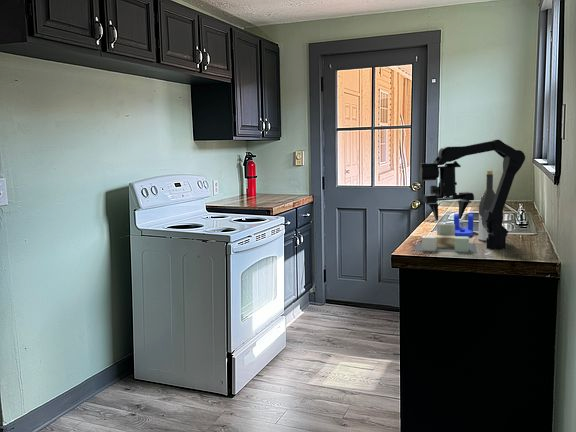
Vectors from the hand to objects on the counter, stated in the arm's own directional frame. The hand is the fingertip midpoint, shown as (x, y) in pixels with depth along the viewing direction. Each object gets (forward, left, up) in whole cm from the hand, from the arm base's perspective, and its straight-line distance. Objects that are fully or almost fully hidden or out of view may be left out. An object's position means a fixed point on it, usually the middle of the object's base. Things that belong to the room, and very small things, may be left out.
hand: (448, 219), depth 211 cm
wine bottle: (-16, -21, -13) cm, 30 cm away
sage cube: (-5, +3, -11) cm, 13 cm away
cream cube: (+7, +3, -11) cm, 14 cm away
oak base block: (+1, -6, -11) cm, 13 cm away
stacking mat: (+1, -3, -12) cm, 13 cm away
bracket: (-6, -42, -13) cm, 45 cm away
